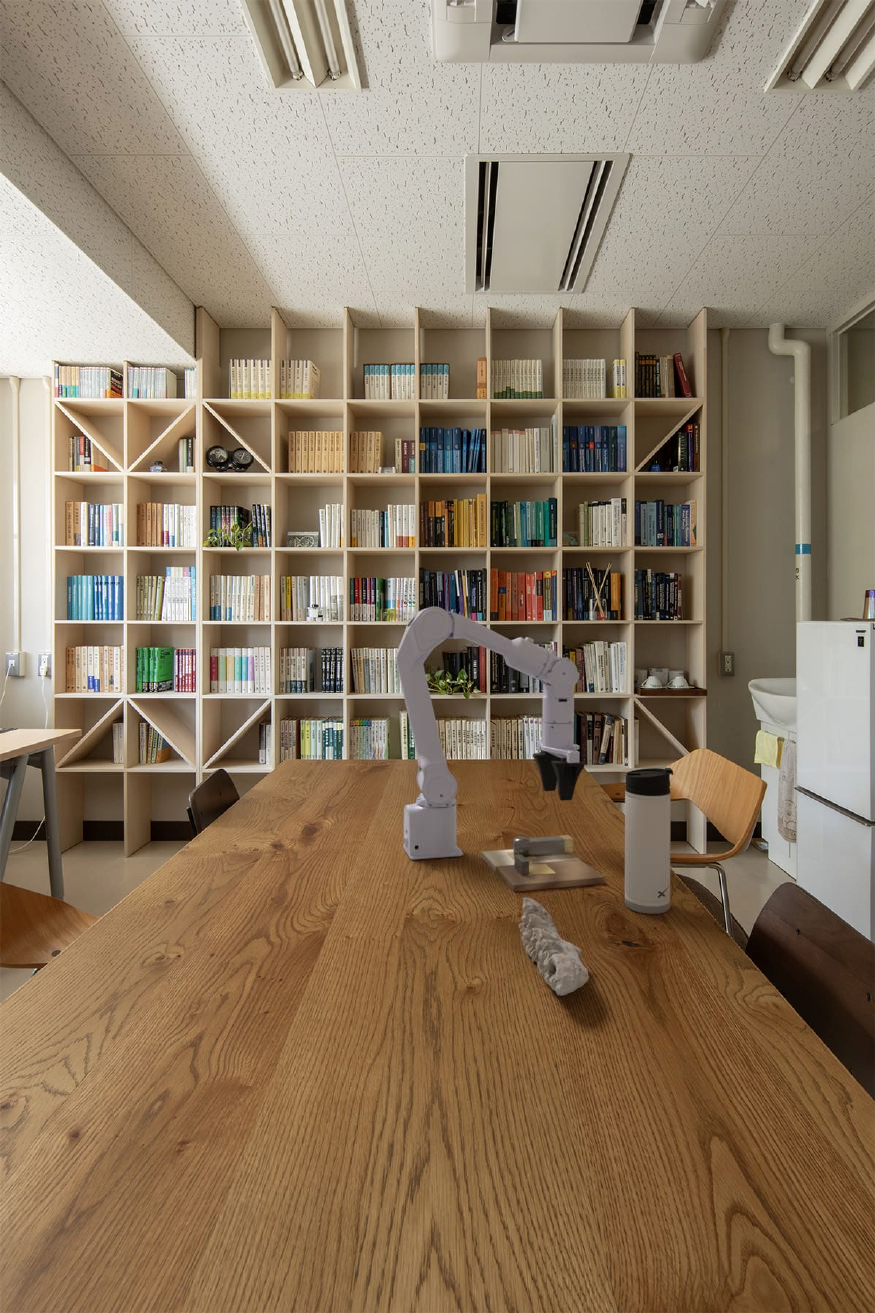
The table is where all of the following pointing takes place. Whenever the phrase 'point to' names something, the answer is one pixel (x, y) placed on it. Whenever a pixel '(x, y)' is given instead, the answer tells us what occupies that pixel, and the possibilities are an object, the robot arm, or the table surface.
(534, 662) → the robot arm
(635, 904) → the travel mug
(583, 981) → the fossil
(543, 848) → the latch bar
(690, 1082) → the table surface
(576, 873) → the door board
